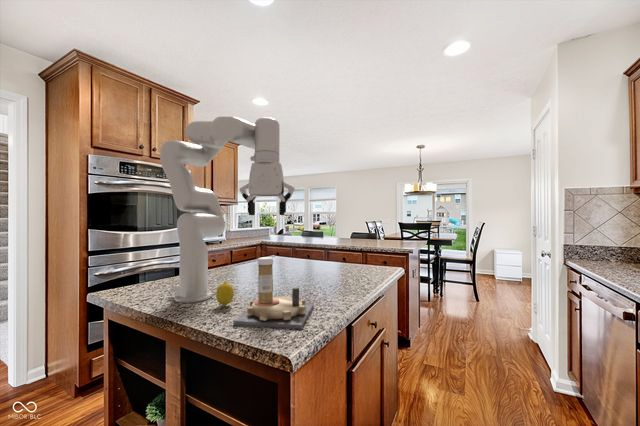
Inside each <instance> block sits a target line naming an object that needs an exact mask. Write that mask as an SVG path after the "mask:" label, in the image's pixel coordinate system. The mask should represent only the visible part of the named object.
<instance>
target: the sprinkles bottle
mask: <svg viewBox="0 0 640 426" xmlns="http://www.w3.org/2000/svg"><path fill="white" fill-rule="evenodd" d="M257 264H258V265H257V266H258V271H257V272H258V274H257V275H258V276H257V279H258V280H257V281H258V282H257V284H258V285H257V286H258V287H257V289H258V290H257V292H258V299H257V300H258V302H259V303H262V304H267V303H271V302H273V297H274V296H273V295H274V294H273V292H274V279H273V278H274V277H273V276H274V275H273V273H274V272H273V265H274V258H273V257H271V256H263V257H258V258H257Z"/></svg>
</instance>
